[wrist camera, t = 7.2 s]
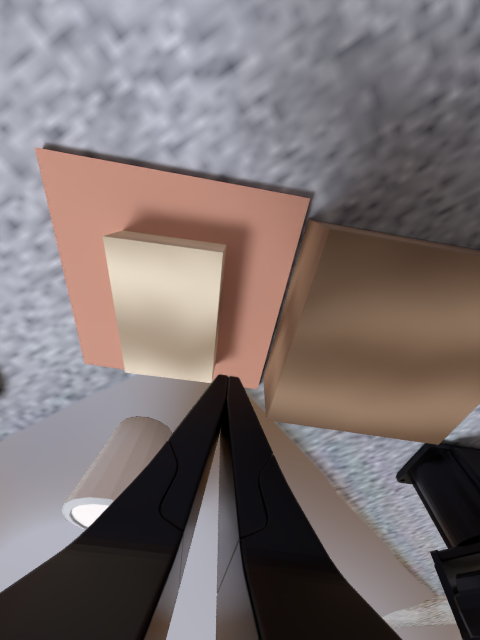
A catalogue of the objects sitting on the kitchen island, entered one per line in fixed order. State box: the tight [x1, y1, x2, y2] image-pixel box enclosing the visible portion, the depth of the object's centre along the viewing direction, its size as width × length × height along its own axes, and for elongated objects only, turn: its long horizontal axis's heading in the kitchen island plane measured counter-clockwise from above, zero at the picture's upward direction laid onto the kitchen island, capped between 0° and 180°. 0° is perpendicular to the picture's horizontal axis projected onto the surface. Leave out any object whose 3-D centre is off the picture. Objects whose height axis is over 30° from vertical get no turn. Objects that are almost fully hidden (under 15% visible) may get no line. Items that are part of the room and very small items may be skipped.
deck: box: [263, 219, 480, 445], centre depth 14 cm, size 12×12×4 cm
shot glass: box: [62, 416, 173, 530], centre depth 20 cm, size 7×7×7 cm
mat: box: [35, 147, 310, 389], centre depth 15 cm, size 14×14×1 cm
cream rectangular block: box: [103, 230, 227, 383], centre depth 14 cm, size 9×6×2 cm, turn 173°
